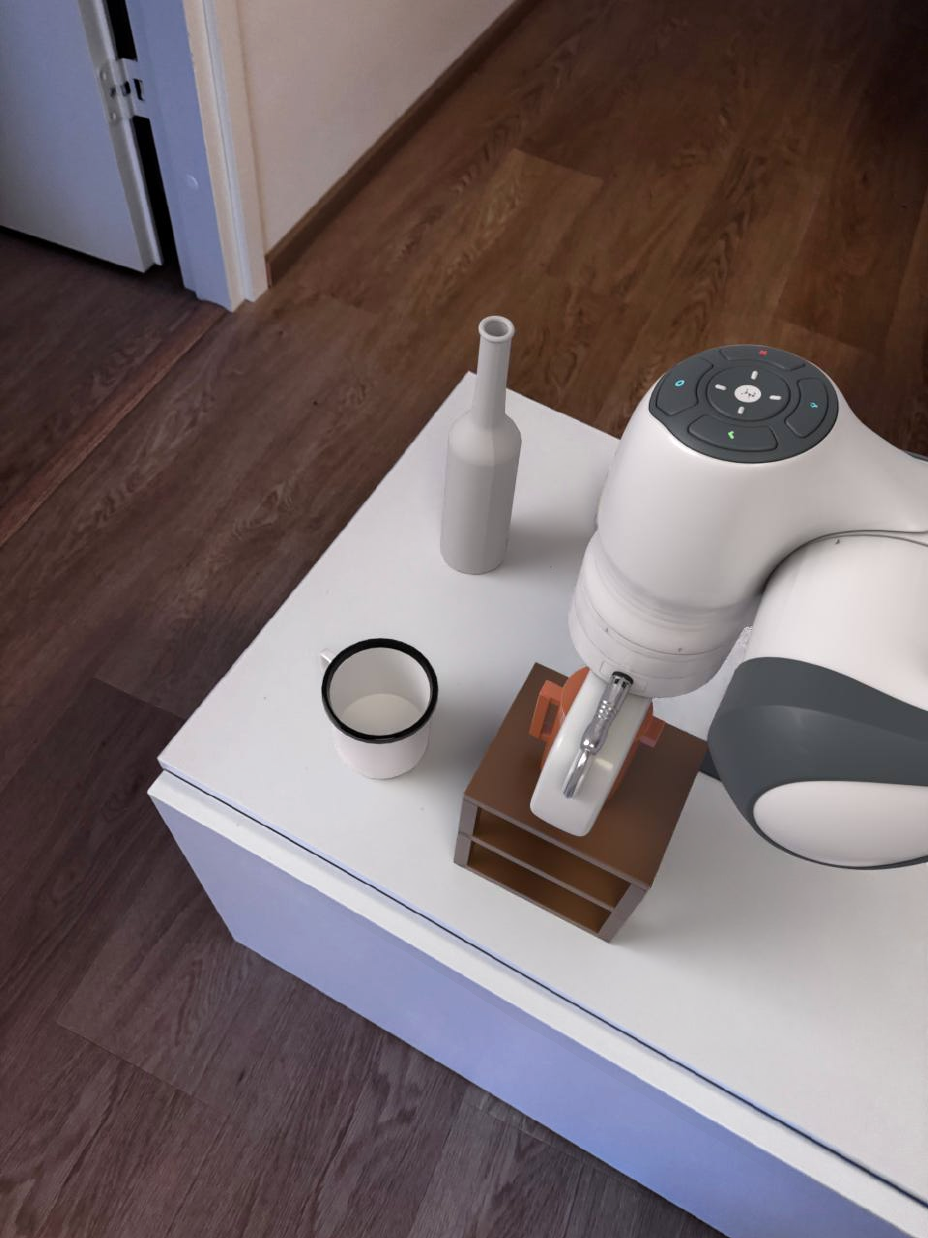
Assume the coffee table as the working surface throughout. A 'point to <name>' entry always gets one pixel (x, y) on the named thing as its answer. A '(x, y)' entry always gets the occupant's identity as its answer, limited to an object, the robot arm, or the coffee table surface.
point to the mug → (379, 705)
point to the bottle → (482, 463)
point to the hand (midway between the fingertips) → (606, 725)
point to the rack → (554, 859)
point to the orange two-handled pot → (564, 701)
